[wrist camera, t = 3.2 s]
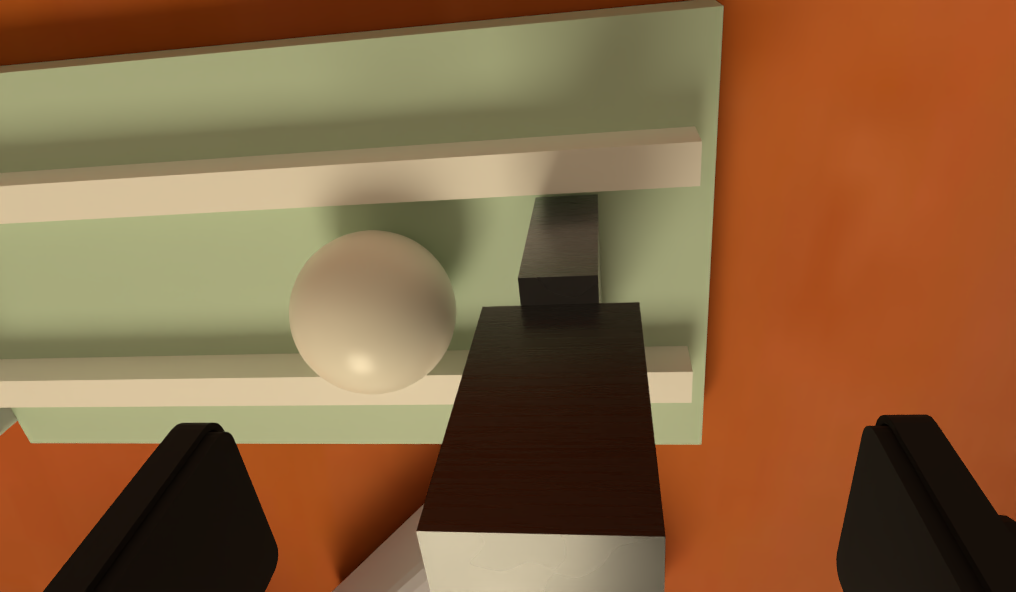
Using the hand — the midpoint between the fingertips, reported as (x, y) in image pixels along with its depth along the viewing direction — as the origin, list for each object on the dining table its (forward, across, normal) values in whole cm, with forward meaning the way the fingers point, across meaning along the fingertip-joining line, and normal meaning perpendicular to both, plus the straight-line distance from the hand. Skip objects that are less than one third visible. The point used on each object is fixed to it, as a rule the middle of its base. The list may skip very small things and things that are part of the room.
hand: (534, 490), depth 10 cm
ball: (+6, +4, 0) cm, 8 cm away
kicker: (+8, 0, +1) cm, 8 cm away
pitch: (+10, +7, +1) cm, 12 cm away
